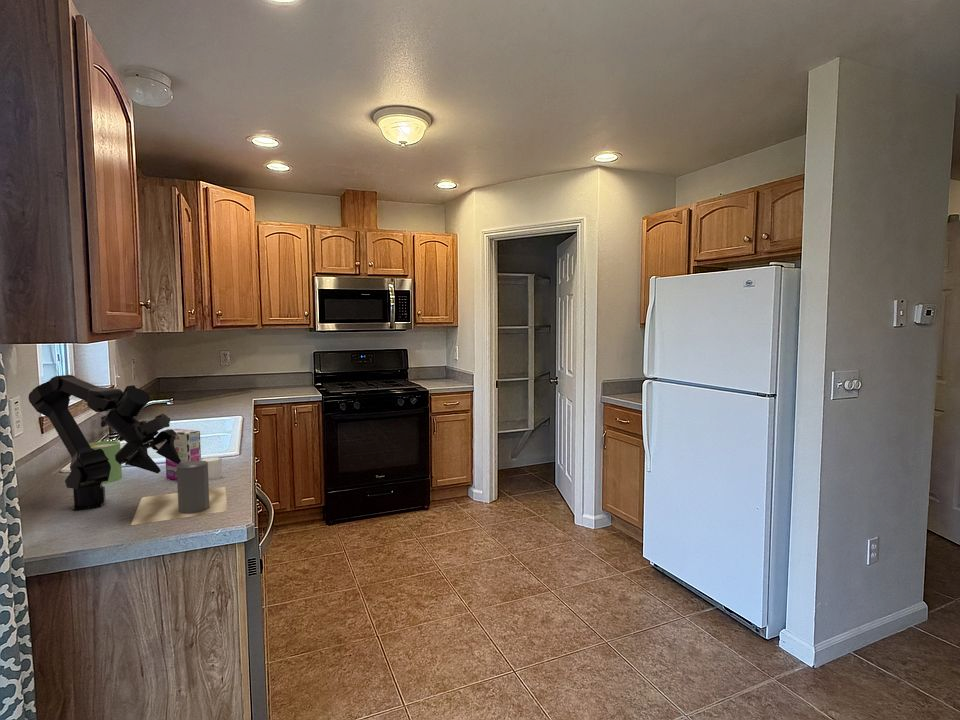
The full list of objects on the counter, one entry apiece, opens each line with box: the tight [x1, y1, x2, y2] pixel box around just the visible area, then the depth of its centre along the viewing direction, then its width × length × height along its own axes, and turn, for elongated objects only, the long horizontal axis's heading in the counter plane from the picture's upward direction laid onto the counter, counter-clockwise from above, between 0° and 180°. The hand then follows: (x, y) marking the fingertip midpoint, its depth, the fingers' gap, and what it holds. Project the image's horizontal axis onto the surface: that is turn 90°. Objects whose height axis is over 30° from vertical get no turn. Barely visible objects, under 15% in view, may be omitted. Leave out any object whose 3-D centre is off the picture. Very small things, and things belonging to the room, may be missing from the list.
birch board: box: [130, 486, 228, 526], centre depth 149 cm, size 22×24×1 cm
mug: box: [89, 440, 123, 485], centre depth 174 cm, size 13×10×12 cm
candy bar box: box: [165, 428, 202, 482], centre depth 175 cm, size 11×5×16 cm, turn 68°
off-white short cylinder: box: [199, 456, 223, 481], centre depth 175 cm, size 7×7×7 cm
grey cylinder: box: [176, 461, 210, 514], centre depth 144 cm, size 7×7×12 cm
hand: (169, 467), depth 144 cm, fingers open, 9 cm apart
